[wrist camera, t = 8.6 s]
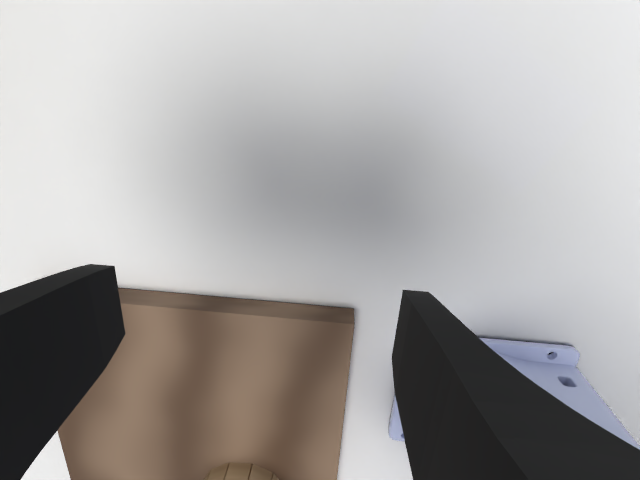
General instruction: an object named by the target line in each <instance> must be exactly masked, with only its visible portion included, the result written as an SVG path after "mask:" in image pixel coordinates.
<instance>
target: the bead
mask: <svg viewBox="0 0 640 480" xmlns="http://www.w3.org/2000/svg"><path fill="white" fill-rule="evenodd" d="M272 473H273V472H270V471H268V470H266V469H264V468H261V467H259V466H257V465H255V464H253V465H252V463H234V462H230V463H226V464H223V465H221V466H218V467H216V468H213V469H211V470H210V471H209V473H208V474H207V476H206V477H205V479H204V480H279V479H278V478H277V477H276V475H275V474H274V473H273V474H272Z"/></svg>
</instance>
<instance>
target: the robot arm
mask: <svg viewBox="0 0 640 480" xmlns="http://www.w3.org/2000/svg"><path fill="white" fill-rule="evenodd" d="M124 336H125V328H124V322H123V316H122V310H121V303H120V297H119V291H118V285H117V279H116V273H115V267H114V266H106V265H94V264H89V265H85V266H80V267H77V268H73V269H70V270H66V271H63V272H60V273H57V274H54V275H51V276H48V277H45V278H42V279H39V280H36V281H33V282H30V283H27V284H25V285H22V286H19V287H16V288H13V289H10V290H7V291H4V292H2V293H0V480H21V478H22V476H23V475H24V473H25V472H26V471H27V469H28V468H29V467H30V465H31V464H32V462H33V461H34V460H35V458H36V457H37V456H38V454H39V453H40V452H41V450H42V449H43V448H44V446H45V445H46V444H47V443H48V441H49V440H50V439H51V438H52V436H53V435H54V434H55V433H56V431H57V430H58V429H59V427H60V426H61V425H62V424H63V422H64V421H65V420H66V419H67V417H68V416H69V415H70V414H71V412H72V411H73V410H74V409H75V407H76V406H77V405H78V403H79V402H80V401H81V400H82V398H83V397H84V396H85V395H86V393H87V392H88V391H89V389H90V388H91V387H92V386H93V384H94V383H95V382H96V380H97V379H98V378H99V376H100V375H101V374H102V372H103V371H104V370H105V368H106V367H107V365H108V364H109V362H110V360H111V359H112V357H113V355H114V354H115V352H116V350H117V348H118V347H119V345H120V343H121V341H122V339H123V338H124ZM550 352H553V353H552V354H550V355H548V353H550ZM579 358H580V354H579V352H578V351H577V349H576V348H574V347H572V346H566V345H554V344H543V343H532V342H521V341H510V340H499V339H488V338H478V337H477V336H476V335H475V334H474V333H473V332H472V331H470V330H469V329H468V328H467V327H466V326H465V325H464V324H463V323H462V322H461V321H460V320H458V319H457V318H456V317H455V316H454V315H453V314H452V313H451V312H450V311H449V310H448V309H447V308H446V307H445V306H444V305H442V304H441V303H440V302H439V301H438V300H437V299H436V298H435V297H434V296H433V295H431V294H430V293H429V292H423V291H410V290H403V293H402V299H401V305H400V311H399V317H398V323H397V329H396V335H395V341H394V347H393V353H392V365H393V378H394V388H395V396H394V402H393V407H392V413H391V419H390V424H389V436H390V438H392V439H393V440H399V441H405V444H406V448H407V453H408V457H409V462H410V467H411V471H412V476H413V480H640V446H639V445H638V444H637V442H636V441H635V440H634V439H633V437H632V436H631V435H630V434H629V432H628V431H627V430H626V429H625V427H624V426H623V425H622V424H621V422H620V421H619V420H618V419H617V417H616V416H615V415H614V414H613V412H612V411H611V410H610V409H609V407H608V406H607V405H606V404H605V402H604V401H603V400H602V399H601V397H600V396H599V395H598V394H597V392H596V391H595V390H594V389H593V387H592V386H591V385H590V384H589V382H588V381H587V380H586V379H585V377H584V376H583V375H582V374H581V372H580V371H579V370H578V369H577V367H576V365H577V363H578V360H579Z"/></svg>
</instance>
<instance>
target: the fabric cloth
mask: <svg viewBox="0 0 640 480" xmlns="http://www.w3.org/2000/svg"><path fill="white" fill-rule="evenodd" d="M118 291H119V297H120V303H121V310H122V316H123V322H124V328H125V336H124V338H123V339H122V341H121V343H120V345H119V347H118V348H117V350H116V352H115V354H114V355H113V357H112V359H111V360H110V362H109V364H108V365H107V367H106V368H105V370H104V371H103V372H102V374H101V375H100V376H99V378H98V379H97V380H96V382H95V383H94V384H93V386H92V387H91V388H90V389H89V391H88V392H87V393H86V395H85V396H84V397H83V398H82V400H81V401H80V402H79V403H78V405H77V406H76V407H75V409H74V410H73V411H72V412H71V414H70V415H69V416H68V417H67V419H66V420H65V421H64V422H63V424H62V425H61V426H60V427H59V429H58V434H59V438H60V441H61V445H62V449H63V452H64V456H65V460H66V463H67V467H68V471H69V474H70V478H71V480H204V479H205V477H206V476H207V474H208V473H209V471H210V470H211V469H213V468H216V467H218V466H221V465H223V464H226V463H230V462H234V463H252V465H253V464H255V465H257V466H259V467H261V468H264V469H266V470H268V471H270V472H273V473H274V474H275V475H276V477H277V478H278V479H279V480H337V472H338V464H339V455H340V446H341V437H342V428H343V420H344V411H345V402H346V393H347V385H348V376H349V367H350V358H351V349H352V341H353V332H354V309H351V308H340V307H329V306H317V305H306V304H295V303H283V302H272V301H261V300H249V299H238V298H227V297H215V296H204V295H193V294H181V293H170V292H159V291H147V290H136V289H124V288H118ZM273 473H272V474H273Z"/></svg>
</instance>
